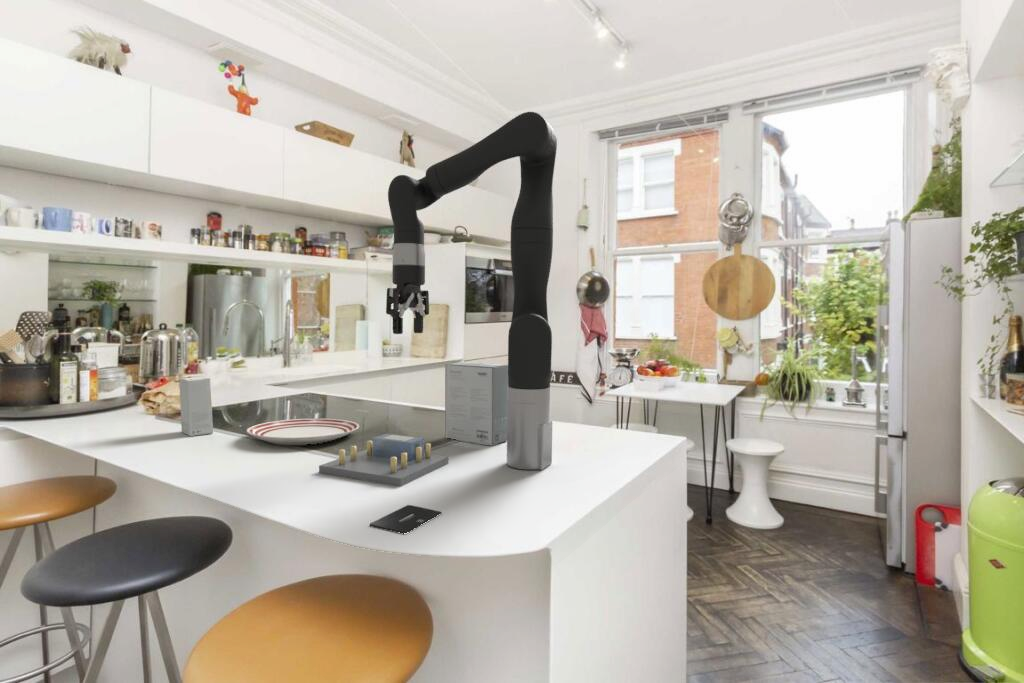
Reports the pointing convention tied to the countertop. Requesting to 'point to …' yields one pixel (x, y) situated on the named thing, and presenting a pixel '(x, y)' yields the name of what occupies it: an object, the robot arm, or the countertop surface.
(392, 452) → the blue block
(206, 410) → the skincare box
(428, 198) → the robot arm
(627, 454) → the countertop surface
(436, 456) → the grey peg board
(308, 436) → the dinner plate
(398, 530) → the solid state drive
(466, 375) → the hard drive box
